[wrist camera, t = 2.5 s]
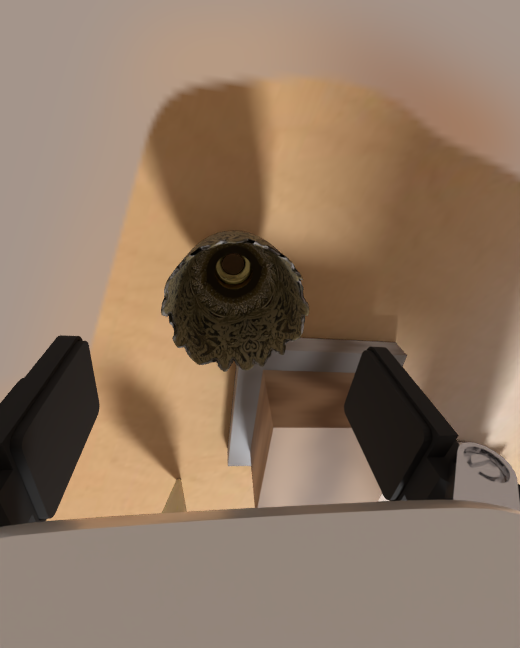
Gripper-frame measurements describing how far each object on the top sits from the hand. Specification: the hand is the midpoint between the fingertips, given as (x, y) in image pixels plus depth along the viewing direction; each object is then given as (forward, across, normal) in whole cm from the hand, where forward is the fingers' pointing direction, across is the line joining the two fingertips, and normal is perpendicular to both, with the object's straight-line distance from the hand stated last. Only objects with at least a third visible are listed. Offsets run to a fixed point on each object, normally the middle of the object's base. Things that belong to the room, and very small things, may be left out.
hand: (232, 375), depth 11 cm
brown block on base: (+13, -9, +14) cm, 21 cm away
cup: (+14, -1, +1) cm, 14 cm away
